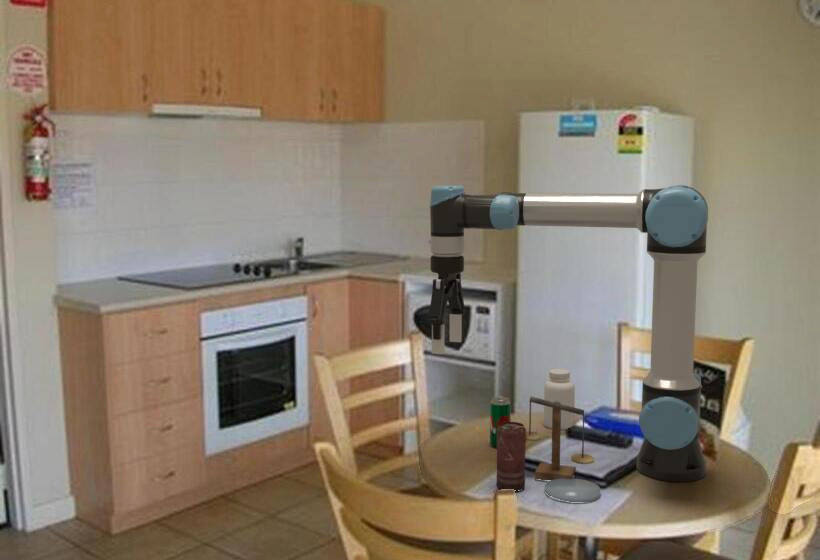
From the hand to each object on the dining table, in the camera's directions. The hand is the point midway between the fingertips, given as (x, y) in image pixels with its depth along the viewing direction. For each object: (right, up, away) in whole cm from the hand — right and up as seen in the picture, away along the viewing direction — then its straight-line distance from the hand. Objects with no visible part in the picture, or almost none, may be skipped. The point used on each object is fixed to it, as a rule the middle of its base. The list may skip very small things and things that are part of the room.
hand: (447, 347), depth 200 cm
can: (+13, -30, -10) cm, 34 cm away
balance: (+24, -29, -4) cm, 38 cm away
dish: (+26, -30, -13) cm, 42 cm away
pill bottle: (+31, -24, +34) cm, 52 cm away
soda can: (+14, -26, +18) cm, 35 cm away
